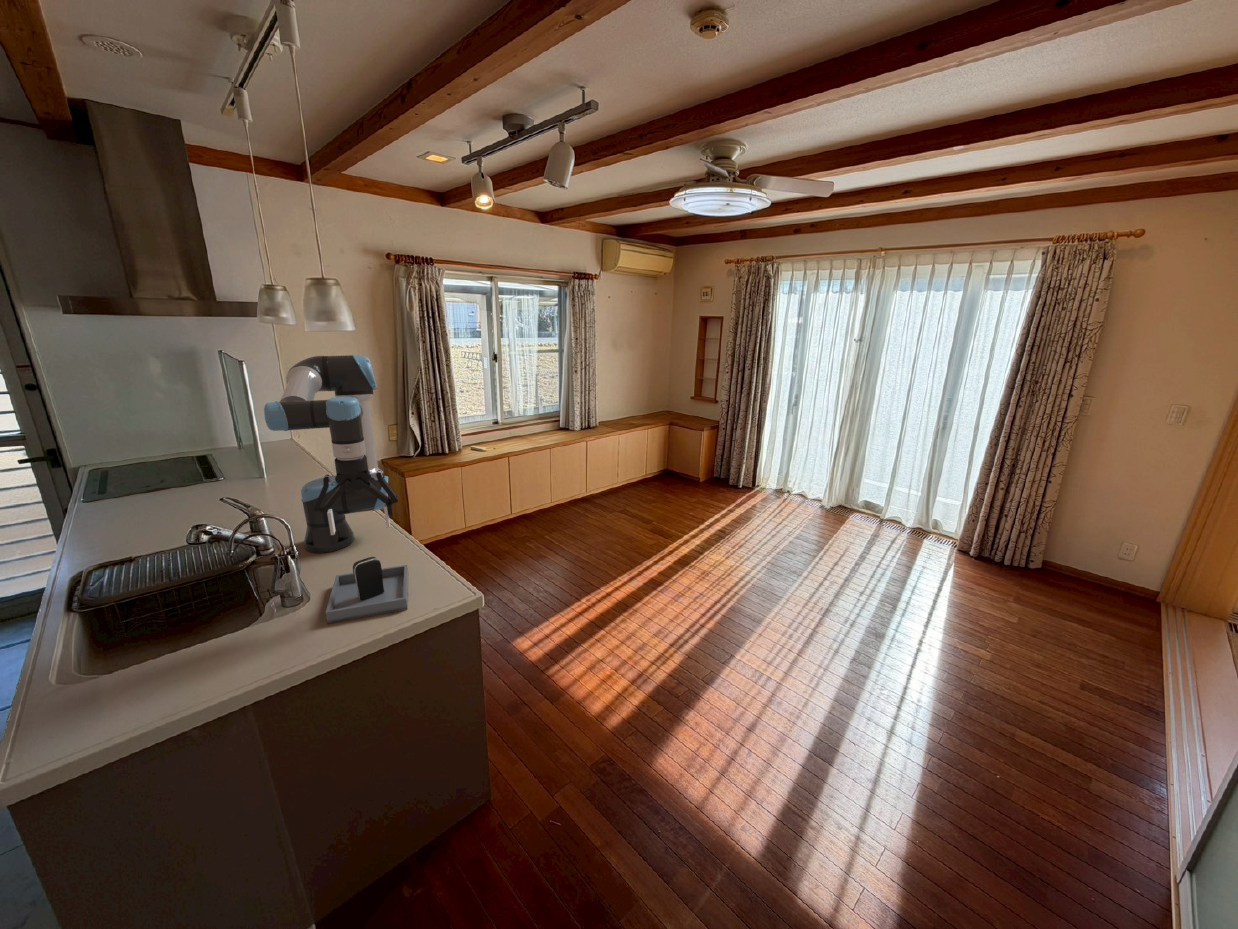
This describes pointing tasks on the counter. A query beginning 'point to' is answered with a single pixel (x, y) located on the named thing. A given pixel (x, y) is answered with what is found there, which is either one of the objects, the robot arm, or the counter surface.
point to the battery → (368, 577)
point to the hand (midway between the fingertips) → (361, 529)
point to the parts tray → (350, 607)
